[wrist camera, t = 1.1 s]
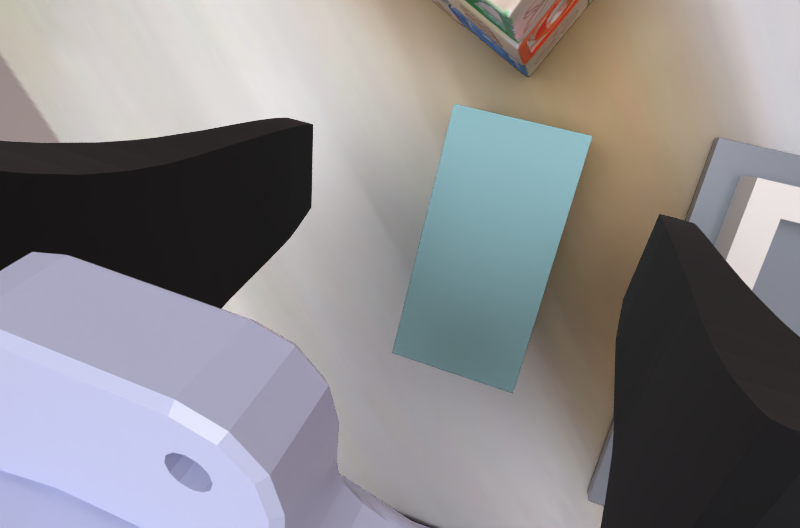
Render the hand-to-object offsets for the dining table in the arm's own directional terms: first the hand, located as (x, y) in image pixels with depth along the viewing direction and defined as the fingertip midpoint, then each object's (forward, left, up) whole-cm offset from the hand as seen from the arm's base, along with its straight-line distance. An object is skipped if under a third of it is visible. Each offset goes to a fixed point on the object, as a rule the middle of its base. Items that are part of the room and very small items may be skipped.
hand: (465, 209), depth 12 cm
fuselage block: (-2, 0, -10) cm, 11 cm away
